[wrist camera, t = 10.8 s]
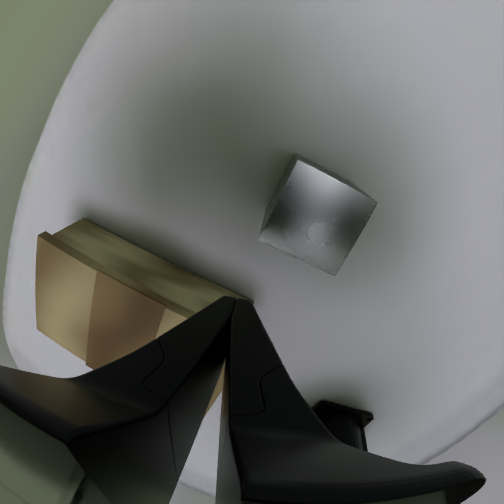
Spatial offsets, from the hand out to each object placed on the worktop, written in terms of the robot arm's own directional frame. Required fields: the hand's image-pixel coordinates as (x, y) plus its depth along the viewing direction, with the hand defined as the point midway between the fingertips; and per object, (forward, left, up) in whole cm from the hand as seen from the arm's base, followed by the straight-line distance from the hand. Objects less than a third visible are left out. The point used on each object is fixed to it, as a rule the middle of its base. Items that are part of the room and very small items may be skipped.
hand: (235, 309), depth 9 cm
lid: (+5, +9, -6) cm, 12 cm away
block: (-2, -3, -10) cm, 10 cm away
